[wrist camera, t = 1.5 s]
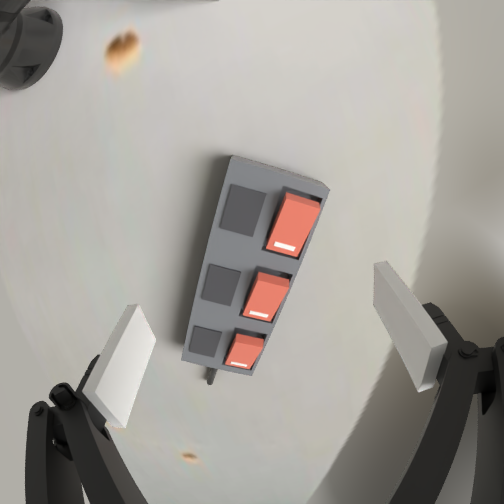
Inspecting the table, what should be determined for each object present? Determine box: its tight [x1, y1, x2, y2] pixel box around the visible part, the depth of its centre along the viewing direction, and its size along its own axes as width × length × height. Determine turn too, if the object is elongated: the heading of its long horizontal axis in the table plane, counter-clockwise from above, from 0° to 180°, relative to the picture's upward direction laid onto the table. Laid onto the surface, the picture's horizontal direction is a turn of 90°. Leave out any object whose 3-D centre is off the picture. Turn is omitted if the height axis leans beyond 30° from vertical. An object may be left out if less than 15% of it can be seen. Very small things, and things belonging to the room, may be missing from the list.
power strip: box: [181, 155, 330, 385], centre depth 46 cm, size 13×44×4 cm, turn 164°
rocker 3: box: [266, 192, 320, 257], centre depth 38 cm, size 4×8×2 cm, turn 163°
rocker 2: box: [243, 272, 289, 321], centre depth 43 cm, size 4×8×2 cm, turn 163°
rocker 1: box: [225, 334, 264, 369], centre depth 47 cm, size 4×8×2 cm, turn 163°
